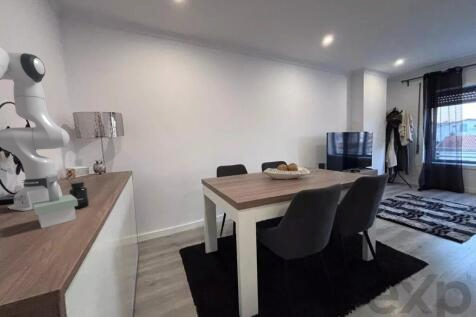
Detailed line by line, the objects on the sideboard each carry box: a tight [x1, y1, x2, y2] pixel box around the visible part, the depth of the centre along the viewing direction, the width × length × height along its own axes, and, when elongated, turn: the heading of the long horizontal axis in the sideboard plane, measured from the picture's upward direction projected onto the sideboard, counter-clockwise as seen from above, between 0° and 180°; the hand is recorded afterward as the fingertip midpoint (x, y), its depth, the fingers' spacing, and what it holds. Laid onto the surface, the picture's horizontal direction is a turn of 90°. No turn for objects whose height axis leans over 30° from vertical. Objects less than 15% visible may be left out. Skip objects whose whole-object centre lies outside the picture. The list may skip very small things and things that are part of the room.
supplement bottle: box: [68, 181, 90, 210], centre depth 96 cm, size 7×7×12 cm
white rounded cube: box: [37, 207, 77, 229], centre depth 80 cm, size 10×10×7 cm
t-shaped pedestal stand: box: [32, 174, 78, 216], centre depth 80 cm, size 12×12×13 cm
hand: (5, 173), depth 70 cm, fingers open, 8 cm apart
